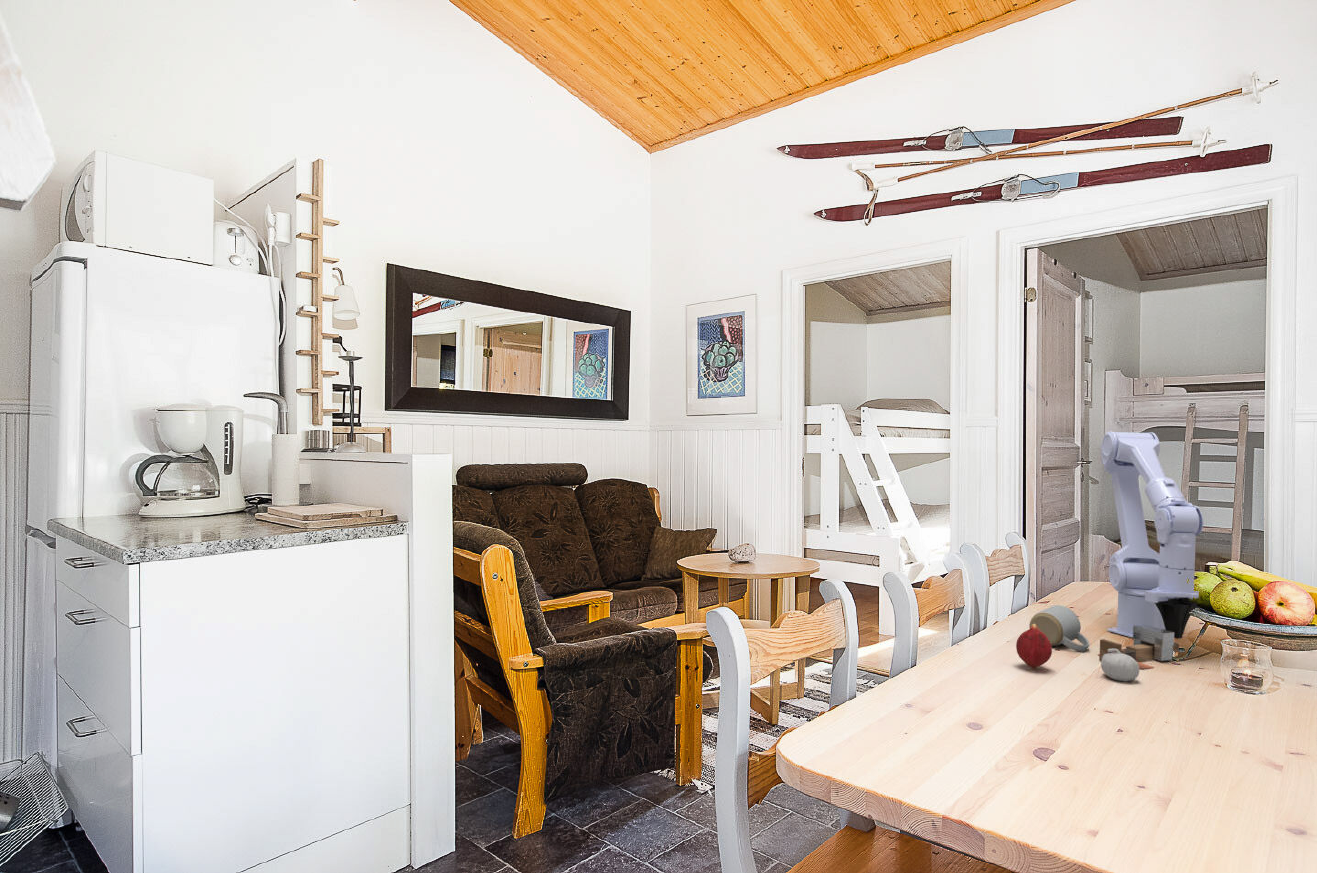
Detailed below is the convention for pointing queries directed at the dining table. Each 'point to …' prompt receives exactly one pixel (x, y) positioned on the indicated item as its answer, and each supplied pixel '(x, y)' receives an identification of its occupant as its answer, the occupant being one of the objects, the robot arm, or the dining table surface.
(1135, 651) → the rail
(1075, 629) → the ceramic mug
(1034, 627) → the onion
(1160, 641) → the gray arch block
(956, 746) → the dining table surface
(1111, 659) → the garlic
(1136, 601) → the robot arm
